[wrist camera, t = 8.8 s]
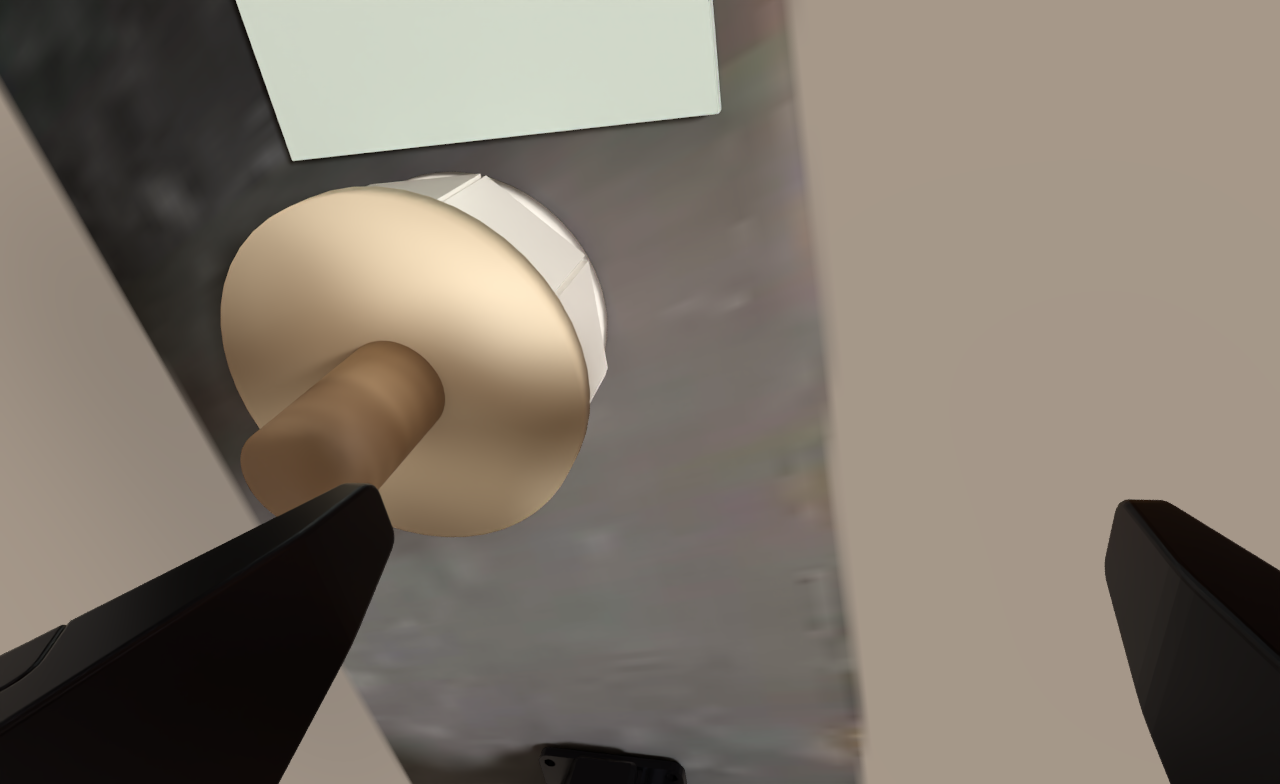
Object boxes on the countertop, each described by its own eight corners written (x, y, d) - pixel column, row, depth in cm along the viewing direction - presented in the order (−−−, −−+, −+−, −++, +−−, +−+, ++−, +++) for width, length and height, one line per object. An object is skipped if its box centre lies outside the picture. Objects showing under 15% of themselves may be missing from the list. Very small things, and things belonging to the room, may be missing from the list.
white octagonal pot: (626, 427, 23) (592, 506, 20) (393, 428, 25) (327, 499, 22) (580, 157, 19) (528, 198, 16) (309, 184, 21) (212, 225, 18)
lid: (616, 524, 20) (563, 666, 16) (316, 513, 22) (203, 633, 18) (550, 168, 15) (451, 239, 11) (182, 202, 18) (-7, 270, 14)
